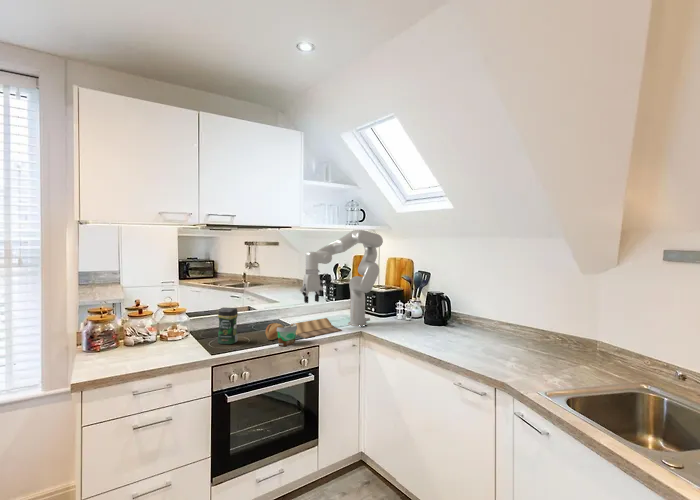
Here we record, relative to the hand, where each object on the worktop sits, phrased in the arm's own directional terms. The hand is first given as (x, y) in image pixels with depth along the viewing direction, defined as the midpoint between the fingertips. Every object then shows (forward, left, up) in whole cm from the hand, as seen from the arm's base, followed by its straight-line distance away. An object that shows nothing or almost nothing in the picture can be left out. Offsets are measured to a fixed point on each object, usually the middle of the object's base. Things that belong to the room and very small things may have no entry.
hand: (311, 301), depth 214 cm
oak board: (0, +1, -15) cm, 15 cm away
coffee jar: (+48, -8, -18) cm, 52 cm away
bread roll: (+24, -1, -18) cm, 30 cm away
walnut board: (0, +9, -18) cm, 20 cm away
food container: (+25, +16, -18) cm, 35 cm away
